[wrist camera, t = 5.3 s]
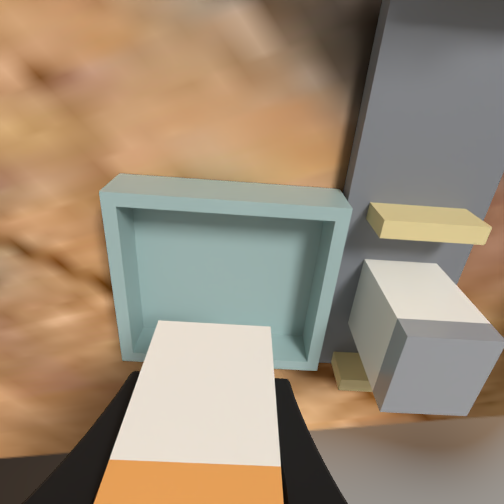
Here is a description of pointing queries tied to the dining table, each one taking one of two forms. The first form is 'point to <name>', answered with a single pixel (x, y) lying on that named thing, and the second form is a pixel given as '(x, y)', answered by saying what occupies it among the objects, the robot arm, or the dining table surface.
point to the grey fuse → (421, 339)
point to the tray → (224, 259)
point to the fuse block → (421, 151)
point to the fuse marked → (199, 421)
